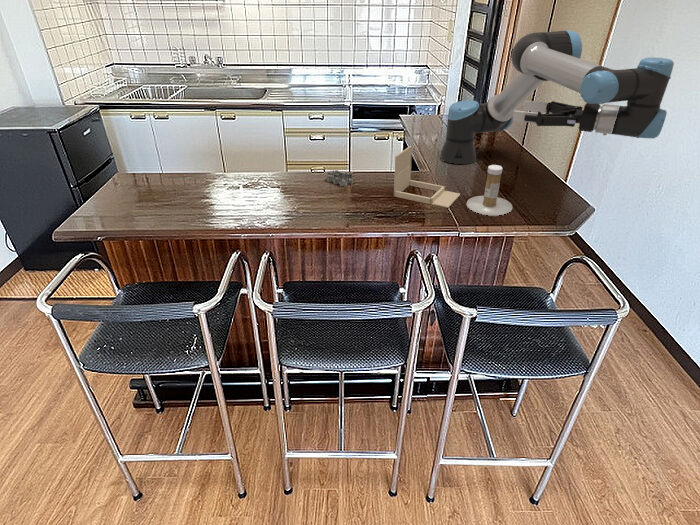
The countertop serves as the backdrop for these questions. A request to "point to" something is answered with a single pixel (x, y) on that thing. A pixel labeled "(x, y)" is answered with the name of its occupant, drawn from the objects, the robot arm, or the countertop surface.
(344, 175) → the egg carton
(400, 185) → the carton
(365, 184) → the countertop surface
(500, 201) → the stone mat
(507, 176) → the countertop surface
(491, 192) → the spice jar
